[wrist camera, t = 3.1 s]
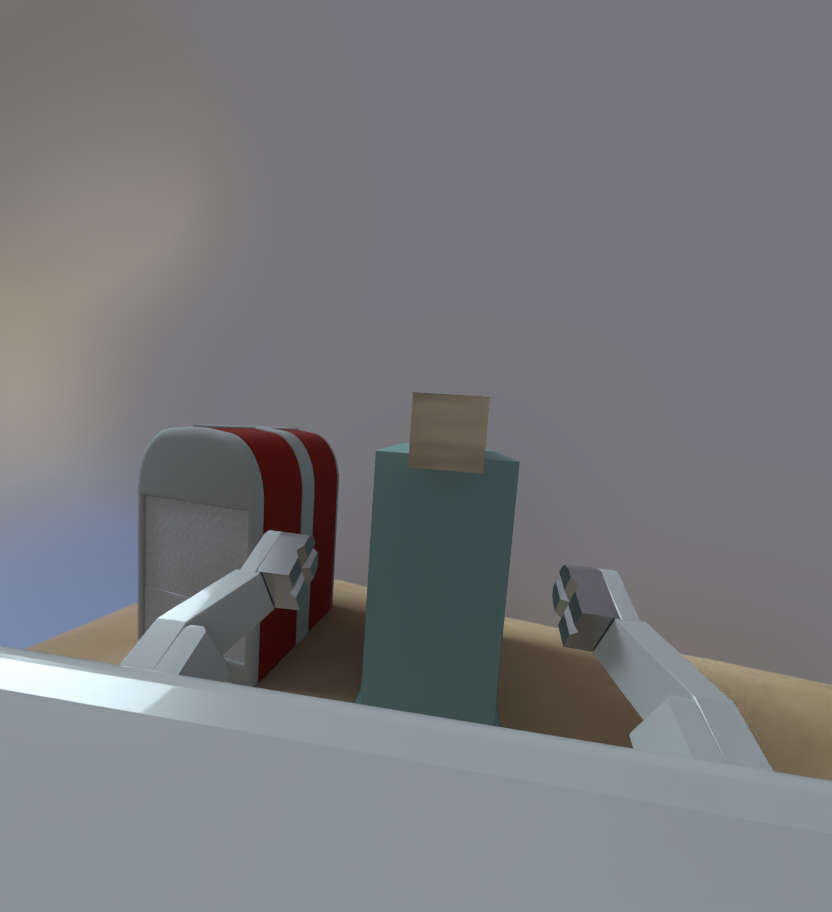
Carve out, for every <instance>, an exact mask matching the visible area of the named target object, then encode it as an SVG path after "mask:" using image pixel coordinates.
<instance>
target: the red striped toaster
mask: <svg viewBox="0 0 832 912" xmlns="http://www.w3.org/2000/svg"><path fill="white" fill-rule="evenodd" d="M338 489H339V473H338V465H337V460H336V457H335V454H334V452H333V449H332V448H331V446H330V444H329V443H328V442H327V441H326V440H325V439H324V438H323V437H322V436H320V435H318V434H315V433H310V432H305V431H301V430H299V429H298V428H289V427H267V426H233V425H205V424H194V425H193V426H192V427H180V428H169V429H166V430H163V431H161V432H160V433H158V434H157V435H156V436H155V437H154V438H153V440H152V441H151V442H150V444H149V445H148V447H147V449H146V451H145V453H144V456H143V459H142V463H141V467H140V474H139V484H138V641H139V640H140V639H141V638H142V636H143V635H144V634H145V633H146V631H147V630H148V629H149V628H150V626H151V625H152V624H153V623H154V622H155V620H156V619H157V618H158V617H160V616H162V615H163V614H165V613H166V612H168V611H170V610H171V609H173V608H174V607H176V606H178V605H179V604H181V603H182V602H184V601H186V600H187V599H189V598H191V597H192V596H194V595H195V594H197V593H199V592H200V591H202V590H203V589H205V588H207V587H208V586H210V585H211V584H213V583H215V582H216V581H218V580H219V579H221V578H223V577H224V576H226V575H228V574H229V573H231V572H232V571H234V570H240V569H241V568H242V566H243V565H244V563H245V562H246V560H247V559H248V557H249V556H250V554H251V553H252V551H253V550H254V548H255V547H256V546H257V544H258V543H259V541H260V540H261V538H262V537H263V535H264V534H265V533H266V532H267V531H269V530H273V531H280V532H288V533H295V534H302V535H309V536H314V540H315V545H314V547H313V548H314V549H315V550H316V551H317V553H318V566H317V571H316V574H315V576H314V579H313V580H312V581H311V582H309V583H308V584H307V585H306V587H307V591H308V592H307V594H306V597H305V599H304V601H303V603H302V605H301V608H300V610H293V609H284V608H275V607H274V610H273V611H271V612H270V613H269V614H268V615H267V616H266V617H265V618H264V619H263V620H261V621H260V622H259V623H258V624H257V625H256V626H255V627H254V628H252V629H251V630H250V631H249V632H248V633H247V634H246V635H245V636H244V637H242V638H241V639H240V640H239V641H238V642H237V643H236V644H235V645H233V646H232V647H231V648H230V649H229V650H228V651H227V652H226V653H225V654H223V655H222V656H223V657H224V659H225V660H226V662H227V663H228V665H229V667H230V670H231V673H230V675H229V677H228V679H227V682H230V683H234V684H239V685H245V686H251V687H253V686H256V685H257V684H258V682H260V681H261V680H262V679H263V678H264V677H265V676H266V675H267V674H268V673H269V672H270V671H271V670H272V669H273V668H274V667H275V666H276V665H277V664H278V662H279V661H280V660H281V659H282V658H283V657H284V656H285V655H286V654H287V653H288V652H289V651H290V650H291V649H292V648H293V647H294V646H295V645H297V644H299V643H300V642H301V640H302V639H303V638H304V637H305V636H306V635H307V634H308V632H309V631H310V629H311V628H312V627H313V626H314V625H315V624H316V623H317V622H318V621H319V620H320V619H321V618H322V617H323V616H324V615H325V614H326V613H327V612H328V611H329V610H330V609H331V607H332V604H333V585H334V565H335V546H336V526H337V507H338Z"/></svg>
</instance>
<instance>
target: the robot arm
mask: <svg viewBox="0 0 832 912" xmlns="http://www.w3.org/2000/svg"><path fill="white" fill-rule="evenodd" d="M314 545H315V540H314V536H309V535H302V534H295V533H288V532H280V531H273V530H269V531H267V532H266V533H265V534H264V535H263V537H262V538H261V540H260V541H259V543H258V544H257V546H256V547H255V548H254V550H253V551H252V553H251V554H250V556H249V557H248V559H247V560H246V562H245V563H244V565H243V566H242V568H241V569H240V570H234V571H232V572H231V573H229V574H228V575H226V576H224V577H223V578H221V579H219V580H218V581H216V582H215V583H213V584H211V585H210V586H208V587H207V588H205V589H203V590H202V591H200V592H199V593H197V594H195V595H194V596H192V597H191V598H189V599H187V600H186V601H184V602H182V603H181V604H179V605H178V606H176V607H174V608H173V609H171V610H170V611H168V612H166V613H165V614H163V615H162V616H160V617H158V618H157V619H156V620H155V622H154V623H153V624H152V625H151V626H150V628H149V629H148V630H147V631H146V633H145V634H144V635H143V636H142V638H141V639H140V640H139V641H138V643H137V644H136V645H135V646H134V647H133V649H132V650H131V651H130V652H129V654H128V655H127V656H126V657H125V659H124V660H123V661H122V662H121V663H120V665H115V664H109V663H103V662H97V661H90V660H84V659H78V658H72V657H65V656H59V655H53V654H47V653H41V652H34V651H28V650H22V649H17V648H11V647H5V646H0V912H832V781H830V780H824V779H818V778H812V777H806V776H799V775H793V774H787V773H781V772H775V771H773V770H772V768H771V766H770V764H769V763H768V761H767V759H766V757H765V756H764V754H763V752H762V750H761V749H760V747H759V745H758V743H757V742H756V740H755V738H754V736H753V735H752V733H751V731H750V729H749V728H748V726H747V724H746V722H745V721H744V719H743V717H742V716H741V714H740V712H739V710H738V709H737V707H736V705H735V703H734V702H732V701H731V700H730V699H729V698H728V697H727V696H726V695H725V694H724V693H723V692H722V691H720V690H719V689H718V688H717V687H716V686H715V685H714V684H713V683H712V682H711V681H710V680H708V679H707V678H706V677H705V676H704V675H703V674H702V673H701V672H700V671H699V670H697V669H696V668H695V667H694V666H693V665H692V664H691V663H690V662H689V661H688V660H687V659H685V658H684V657H683V656H682V655H681V654H680V653H679V652H678V651H677V650H676V649H674V648H673V647H672V646H671V645H670V644H669V643H668V642H667V641H666V640H665V639H664V638H662V637H661V636H660V635H659V634H658V633H657V632H656V631H655V630H654V629H653V628H652V627H650V626H649V625H648V624H647V623H646V622H641V621H640V619H639V617H638V615H637V613H636V610H635V608H634V606H633V604H632V602H631V600H630V597H629V595H628V593H627V591H626V589H625V587H624V584H623V582H622V580H621V578H620V576H619V574H618V573H617V572H616V571H614V570H604V569H597V568H590V567H580V566H570V565H564V566H563V567H562V568H561V570H560V576H561V578H560V579H558V580H556V581H555V584H554V587H553V595H552V597H553V605H554V609H555V612H556V613H557V614H558V615H559V616H560V617H561V620H560V622H559V624H558V625H559V630H560V634H561V639H562V643H563V647H568V648H574V649H580V650H586V651H592V652H593V654H594V656H595V657H596V658H597V660H598V661H599V662H600V664H601V665H602V666H603V668H604V669H605V670H606V671H607V673H608V674H609V675H610V677H611V678H612V679H613V681H614V682H615V683H616V685H617V686H618V687H619V689H620V690H621V691H622V693H623V694H624V695H625V697H626V698H627V699H628V700H629V702H630V703H631V704H632V706H633V707H634V708H635V710H636V711H637V712H638V714H639V715H640V716H641V718H642V719H643V721H642V722H641V723H640V724H639V725H638V726H637V727H636V728H634V729H633V730H632V732H631V733H630V734H629V736H630V739H631V743H632V746H633V748H627V747H621V746H615V745H609V744H602V743H596V742H590V741H584V740H578V739H572V738H565V737H559V736H553V735H547V734H541V733H535V732H528V731H522V730H516V729H510V728H504V727H498V726H492V725H485V724H479V723H473V722H467V721H461V720H455V719H448V718H442V717H436V716H430V715H424V714H418V713H411V712H405V711H399V710H393V709H387V708H381V707H375V706H368V705H362V704H356V703H350V702H344V701H338V700H331V699H325V698H319V697H313V696H307V695H300V694H294V693H288V692H282V691H276V690H270V689H263V688H257V687H251V686H245V685H239V684H233V683H226V681H227V679H228V677H229V675H230V673H231V670H230V667H229V665H228V663H227V662H226V660H225V659H224V657H223V656H222V655H223V654H225V653H226V652H227V651H228V650H229V649H230V648H231V647H232V646H233V645H235V644H236V643H237V642H238V641H239V640H240V639H241V638H242V637H244V636H245V635H246V634H247V633H248V632H249V631H250V630H251V629H252V628H254V627H255V626H256V625H257V624H258V623H259V622H260V621H261V620H263V619H264V618H265V617H266V616H267V615H268V614H269V613H270V612H271V611H273V610H274V607H275V608H284V609H293V610H300V608H301V605H302V603H303V601H304V599H305V597H306V594H307V592H308V591H307V587H306V585H307V584H308V583H309V582H311V581H312V580H313V579H314V576H315V574H316V571H317V566H318V553H317V551H316V550H315V549H314V548H313V547H314Z"/></svg>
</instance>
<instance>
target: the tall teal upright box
mask: <svg viewBox="0 0 832 912" xmlns="http://www.w3.org/2000/svg"><path fill="white" fill-rule="evenodd" d="M409 444H410V443H402V444H399V445H395V446H391V447H387V448H384V449H380V450H376V456H375V474H374V489H373V505H372V522H371V539H370V555H369V571H368V572H369V573H368V587H367V603H366V620H365V636H364V652H363V669H362V683H361V686H360V689H359V692H358V695H357V698H356V701H355V703H356V704H362V705H368V706H375V707H381V708H387V709H393V710H399V711H405V712H411V713H418V714H424V715H430V716H436V717H442V718H448V719H455V720H461V721H467V722H473V723H479V724H485V725H492V726H498V727H500V722H499V716H498V710H497V705H496V698H497V688H498V677H499V667H500V657H501V647H502V637H503V626H504V615H505V606H506V596H507V585H508V575H509V565H510V554H511V544H512V534H513V524H514V514H515V502H516V493H517V483H518V473H519V463H520V462H519V461H516V460H514V459H512V458H509V457H507V456H505V455H502V454H500V453H498V452H496V451H493V450H490V449H485V457H484V469H483V474H482V473H470V472H458V471H446V470H434V469H422V468H410V467H408V459H409Z"/></svg>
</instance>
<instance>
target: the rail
mask: <svg viewBox="0 0 832 912" xmlns="http://www.w3.org/2000/svg"><path fill="white" fill-rule="evenodd" d="M489 401H490V397H482V396H465V395H449V394H432V393H415V392H413V401H412V416H411V430H410V444H409V459H408V467H410V468H422V469H434V470H446V471H458V472H470V473H482V474H483V469H484V457H485V446H486V434H487V424H488V423H487V422H488V412H489Z"/></svg>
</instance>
